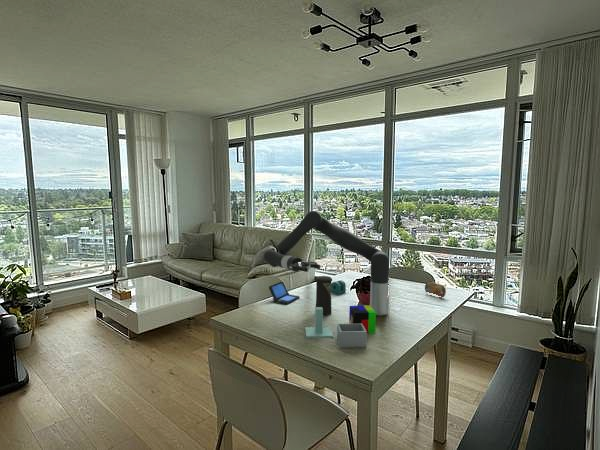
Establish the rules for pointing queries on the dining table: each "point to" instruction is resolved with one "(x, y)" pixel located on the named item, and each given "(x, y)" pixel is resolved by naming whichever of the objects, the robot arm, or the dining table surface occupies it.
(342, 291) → the teal rounded piece
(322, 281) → the container
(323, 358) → the dining table surface
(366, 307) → the puzzle toy
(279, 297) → the handheld game console
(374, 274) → the robot arm
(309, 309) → the dining table surface
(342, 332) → the tub
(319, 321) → the lid
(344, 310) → the dining table surface
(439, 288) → the wooden scrub brush
